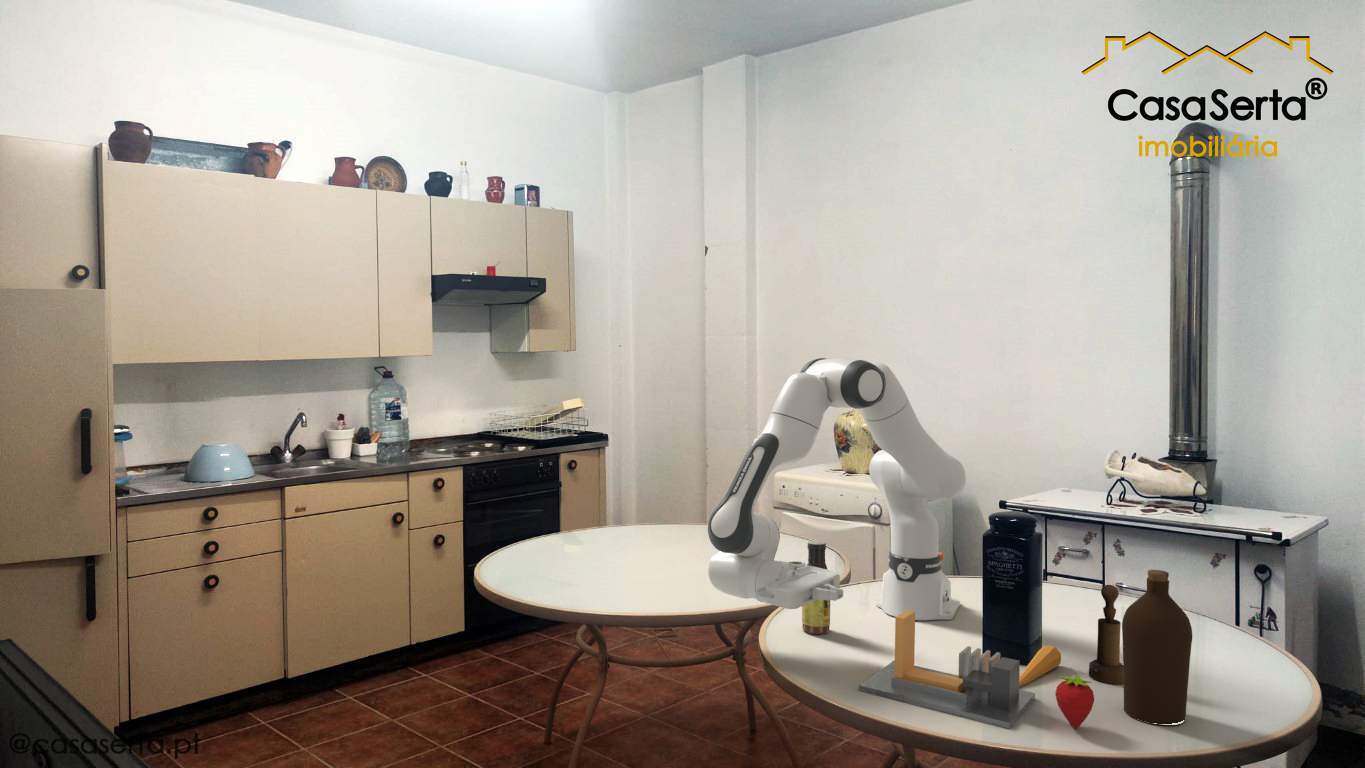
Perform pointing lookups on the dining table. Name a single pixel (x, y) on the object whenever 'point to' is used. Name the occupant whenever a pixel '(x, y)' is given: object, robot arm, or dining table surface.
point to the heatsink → (982, 699)
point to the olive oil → (1156, 655)
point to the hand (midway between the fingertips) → (840, 595)
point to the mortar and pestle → (1108, 643)
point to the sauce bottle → (818, 610)
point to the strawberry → (1074, 699)
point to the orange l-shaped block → (906, 657)
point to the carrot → (1040, 664)
